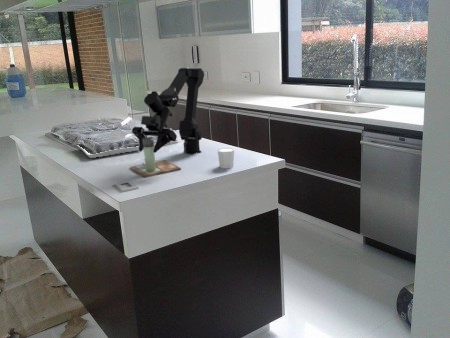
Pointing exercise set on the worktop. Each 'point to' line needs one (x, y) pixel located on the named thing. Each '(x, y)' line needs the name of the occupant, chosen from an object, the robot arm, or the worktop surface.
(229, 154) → the white cup
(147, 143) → the cylinder
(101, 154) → the square plate
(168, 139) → the robot arm
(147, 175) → the picture board
